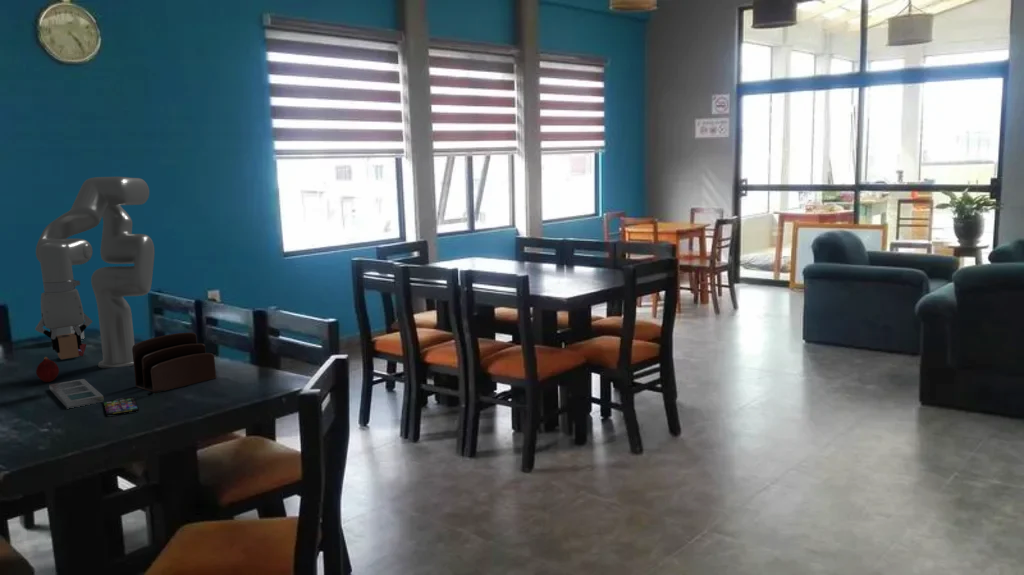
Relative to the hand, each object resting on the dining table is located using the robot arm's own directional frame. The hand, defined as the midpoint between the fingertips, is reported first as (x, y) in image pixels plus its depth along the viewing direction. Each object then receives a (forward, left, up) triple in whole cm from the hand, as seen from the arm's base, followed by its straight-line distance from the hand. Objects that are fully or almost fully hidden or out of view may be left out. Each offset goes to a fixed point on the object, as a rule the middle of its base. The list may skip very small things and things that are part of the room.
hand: (67, 349), depth 234 cm
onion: (+3, -14, -12) cm, 19 cm away
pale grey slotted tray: (0, +8, -12) cm, 15 cm away
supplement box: (-14, -76, -12) cm, 79 cm away
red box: (-10, -46, -12) cm, 49 cm away
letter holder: (-25, +13, -13) cm, 31 cm away
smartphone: (-7, +28, -13) cm, 31 cm away
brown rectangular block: (0, 0, -2) cm, 2 cm away
